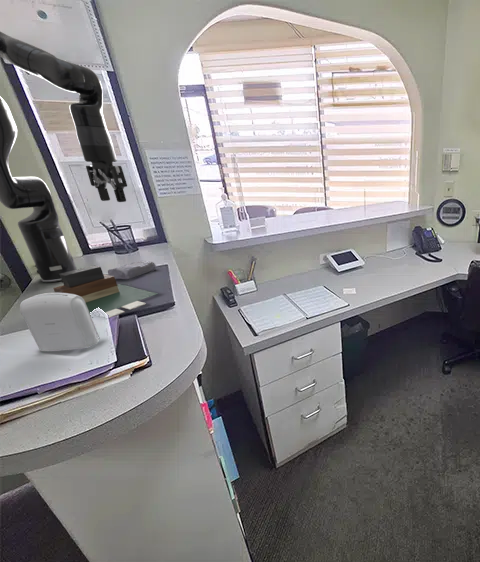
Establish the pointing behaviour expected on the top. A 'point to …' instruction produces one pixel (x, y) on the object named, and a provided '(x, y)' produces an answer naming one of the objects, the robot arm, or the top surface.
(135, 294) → the chalkboard
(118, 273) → the stone block
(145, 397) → the top surface
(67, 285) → the eraser
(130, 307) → the chalk smudge
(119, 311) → the chalk smudge
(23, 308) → the photo printer
